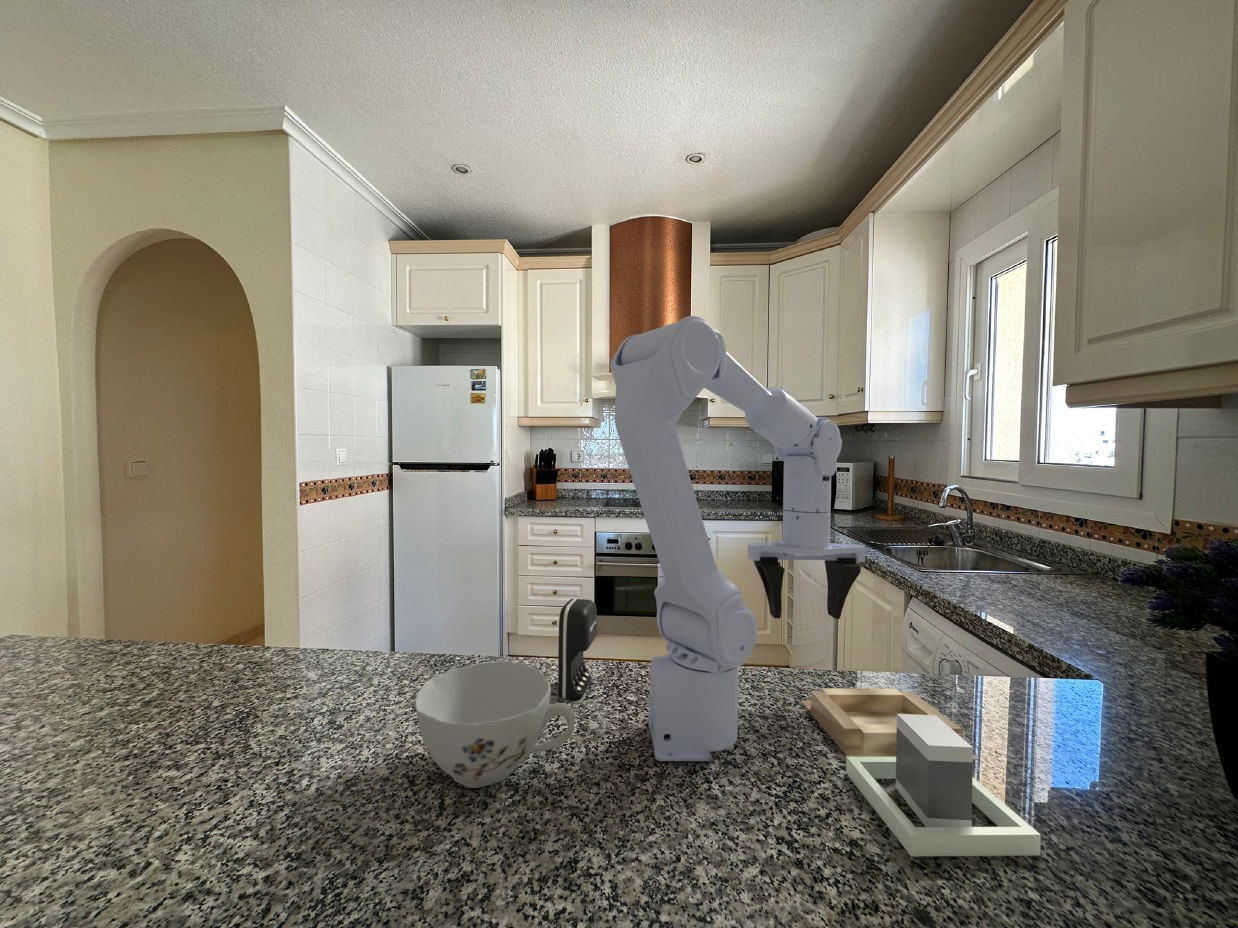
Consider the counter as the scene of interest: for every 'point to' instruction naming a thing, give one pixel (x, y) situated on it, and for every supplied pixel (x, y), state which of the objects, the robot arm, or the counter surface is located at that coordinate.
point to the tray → (945, 841)
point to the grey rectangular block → (934, 771)
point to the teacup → (487, 719)
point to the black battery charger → (575, 646)
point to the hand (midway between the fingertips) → (804, 616)
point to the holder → (867, 718)
